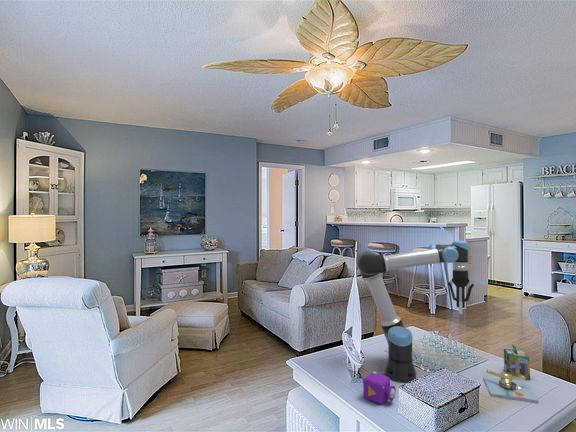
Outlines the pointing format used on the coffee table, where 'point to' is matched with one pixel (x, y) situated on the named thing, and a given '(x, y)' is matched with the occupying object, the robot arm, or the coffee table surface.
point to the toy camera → (378, 388)
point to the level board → (509, 390)
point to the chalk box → (516, 362)
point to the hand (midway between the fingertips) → (460, 313)
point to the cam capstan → (508, 380)
